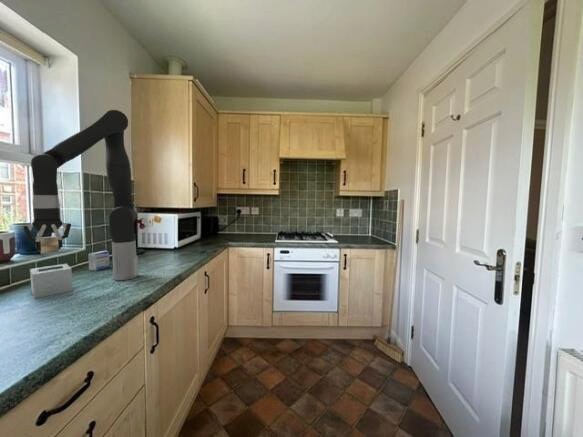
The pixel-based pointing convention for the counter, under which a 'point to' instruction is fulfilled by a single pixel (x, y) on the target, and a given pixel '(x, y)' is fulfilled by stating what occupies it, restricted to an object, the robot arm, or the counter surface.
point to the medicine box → (98, 260)
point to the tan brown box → (49, 244)
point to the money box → (51, 280)
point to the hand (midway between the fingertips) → (49, 249)
